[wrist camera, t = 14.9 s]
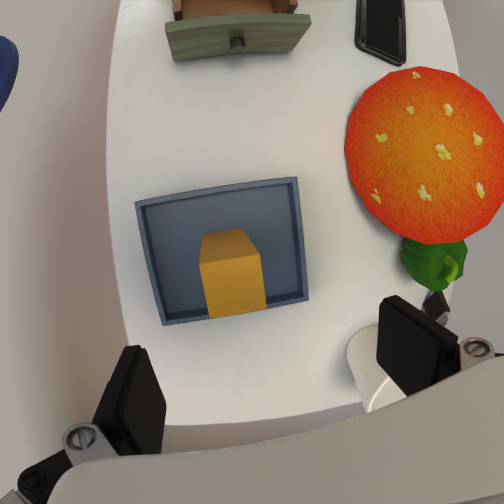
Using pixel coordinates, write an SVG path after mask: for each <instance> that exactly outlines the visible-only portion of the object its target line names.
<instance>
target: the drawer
mask: <svg viewBox="0 0 504 504" xmlns="http://www.w3.org/2000/svg"><path fill="white" fill-rule="evenodd" d="M297 6H298V2H297V0H173V13H174V19H175V21H173V22H168V23H165V32H166V36H167V40H168V43H169V47H170V50H171V54H172V57H173V61H179V60H185V59H192V58H198V57H206V56H214V55H223V54H234V53H248V52H273V51H292V50H293V49H294V47H295V46H296V45H297V43H298V42H299V40H300V39H301V38H302V36H303V35H304V34H305V32H306V31H307V29H308V28H309V27H310V25H311V24H312V23H311V19H310V15H304V14H293V13H294V11H295V10H296V8H297Z"/></svg>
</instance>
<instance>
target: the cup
mask: <svg viewBox="0 0 504 504" xmlns="http://www.w3.org/2000/svg"><path fill="white" fill-rule="evenodd" d="M377 338H378V327H376V326H370V327H366V328H364V329H362V330H360V331H359V332H357V333H356V334H355V335H354V336H353V337H352V339H351V340H350V342H349V343H348V346H347V349H346V356H347V359H348V362H349V365H350V368H351V370H352V373H353V376H354V379H355V382H356V385H357V387H358V390H359V393H360V396H361V399H362V402H363V405H364V408H365V411H366V413H368V412H371V411H374V410H376V409H379V408H382V407H384V406H387V405H389V404H392V403H394V402H396V401H399V400H401V399H404V398H406V397H407V396H406V395H405V394H404V393H403V392H402V390H401V389H400V388H399V387H398V386H397V385H396V384H395V382H394V381H393V380H392V379H391V378H390V377H389V376H388V375H387V373H386V372H385V371H384V370H383V369H382V368H381V367H380V366H379V364H378V363H377V360H376V350H377Z"/></svg>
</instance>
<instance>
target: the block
mask: <svg viewBox="0 0 504 504" xmlns="http://www.w3.org/2000/svg"><path fill="white" fill-rule="evenodd" d="M199 267H200V272H201V277H202V282H203V287H204V292H205V297H206V302H207V307H208V312H209V316H210V319H213V318H219V317H225V316H231V315H236V314H242V313H248V312H253V311H259V310H264V309H267V305H266V297H265V289H264V282H263V274H262V266H261V259H260V254H259V252H258V251H257V249H256V248H255V247H254V245H253V244H252V242H251V241H250V239H249V238H248V237H247V235H246V234H245V232H244V231H243V229H242V228H239V229H233V230H227V231H221V232H215V233H209V234H203V235H202V243H201V252H200V261H199Z"/></svg>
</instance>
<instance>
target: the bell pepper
mask: <svg viewBox="0 0 504 504" xmlns="http://www.w3.org/2000/svg"><path fill="white" fill-rule="evenodd" d="M403 245H404V248H403V250H402V254H401V260H402V263H403V265H404V267H405V269H406V270H407V272H408V273H409V274H410V275H411V276H412V278H413V279H414V280H415V281H416V282H418V283H420V284H421V285H423V286H425V287H426V288H428V289H430V290H432V291H433V292H438V291H442V290H444V289H445V288H447V287H448V284H450V283H451V282H452V281H453V280H457V279H458V278H460V277H461V276H462V275H463V268H464V261H465V258H466V254H467V251H468V249H467V247H466V244H465V242H464V240H461V241H460V242H450V243H437V244H424V243H421V242H418V241H416V240H413V239H410V238H407V237H404V241H403Z"/></svg>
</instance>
